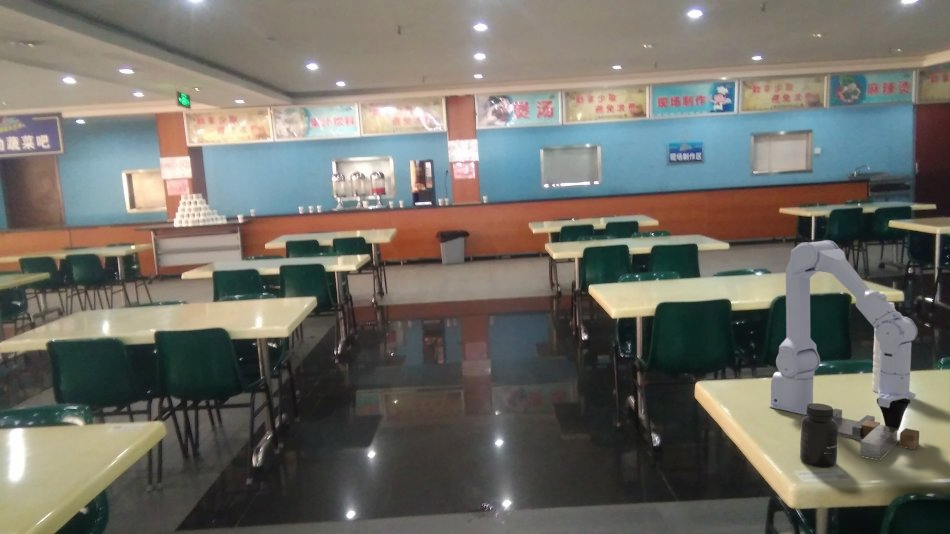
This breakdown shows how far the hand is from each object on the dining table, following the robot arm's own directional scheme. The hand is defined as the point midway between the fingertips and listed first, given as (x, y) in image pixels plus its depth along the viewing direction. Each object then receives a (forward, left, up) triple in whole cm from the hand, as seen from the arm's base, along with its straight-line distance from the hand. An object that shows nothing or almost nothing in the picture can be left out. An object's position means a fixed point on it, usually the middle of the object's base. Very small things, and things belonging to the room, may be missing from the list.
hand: (892, 429), depth 143 cm
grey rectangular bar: (0, -9, -2) cm, 9 cm away
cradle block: (-9, -1, -2) cm, 9 cm away
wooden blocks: (0, -2, -2) cm, 3 cm away
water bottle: (-12, +35, -2) cm, 37 cm away
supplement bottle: (-7, -24, -2) cm, 25 cm away
